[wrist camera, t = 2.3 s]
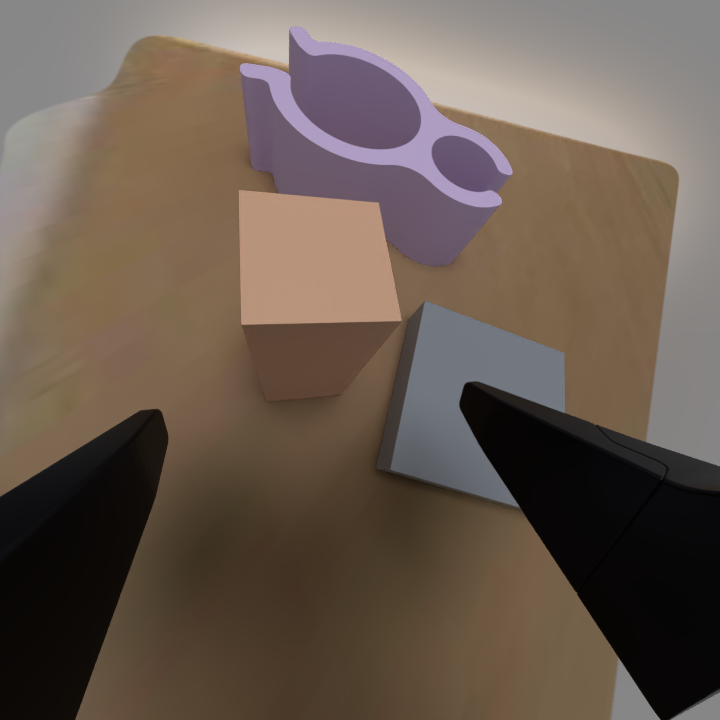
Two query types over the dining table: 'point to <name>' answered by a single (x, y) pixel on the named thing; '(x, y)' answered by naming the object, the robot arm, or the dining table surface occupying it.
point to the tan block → (313, 291)
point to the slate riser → (443, 392)
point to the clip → (371, 146)
